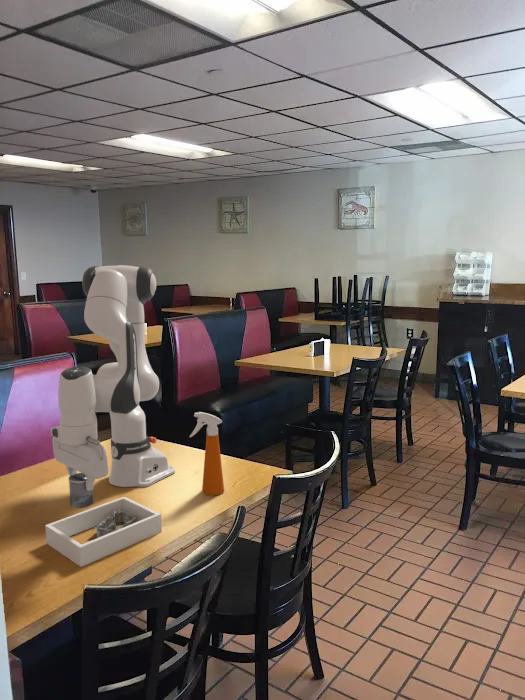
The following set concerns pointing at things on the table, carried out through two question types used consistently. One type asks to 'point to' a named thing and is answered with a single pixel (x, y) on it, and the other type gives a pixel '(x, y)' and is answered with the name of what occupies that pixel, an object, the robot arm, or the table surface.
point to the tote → (108, 543)
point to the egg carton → (110, 525)
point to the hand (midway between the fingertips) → (81, 485)
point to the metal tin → (79, 491)
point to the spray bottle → (211, 454)
